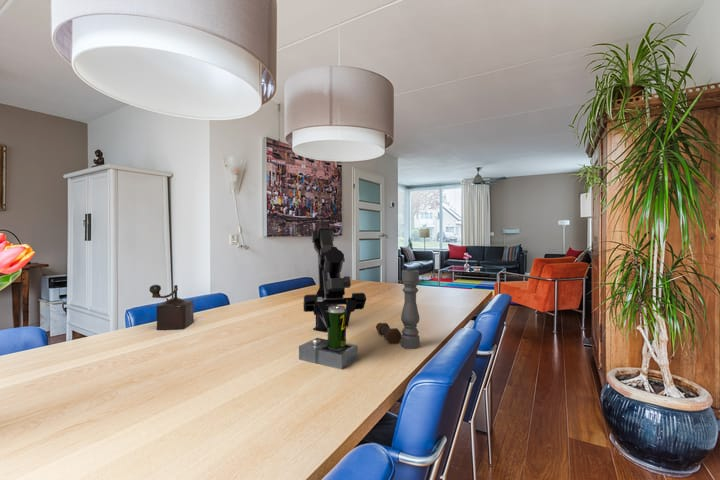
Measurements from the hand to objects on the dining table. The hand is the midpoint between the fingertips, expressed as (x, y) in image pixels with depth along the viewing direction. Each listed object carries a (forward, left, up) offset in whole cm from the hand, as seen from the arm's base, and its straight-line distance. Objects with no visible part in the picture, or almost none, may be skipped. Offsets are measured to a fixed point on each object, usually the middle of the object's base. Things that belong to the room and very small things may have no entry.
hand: (337, 326), depth 99 cm
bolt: (+3, +29, -11) cm, 31 cm away
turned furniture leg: (+13, +24, -11) cm, 29 cm away
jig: (-4, +1, -10) cm, 11 cm away
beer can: (-1, +1, -7) cm, 7 cm away
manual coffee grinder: (-76, -2, -11) cm, 77 cm away
